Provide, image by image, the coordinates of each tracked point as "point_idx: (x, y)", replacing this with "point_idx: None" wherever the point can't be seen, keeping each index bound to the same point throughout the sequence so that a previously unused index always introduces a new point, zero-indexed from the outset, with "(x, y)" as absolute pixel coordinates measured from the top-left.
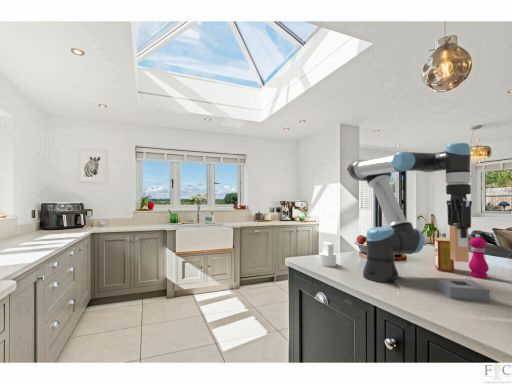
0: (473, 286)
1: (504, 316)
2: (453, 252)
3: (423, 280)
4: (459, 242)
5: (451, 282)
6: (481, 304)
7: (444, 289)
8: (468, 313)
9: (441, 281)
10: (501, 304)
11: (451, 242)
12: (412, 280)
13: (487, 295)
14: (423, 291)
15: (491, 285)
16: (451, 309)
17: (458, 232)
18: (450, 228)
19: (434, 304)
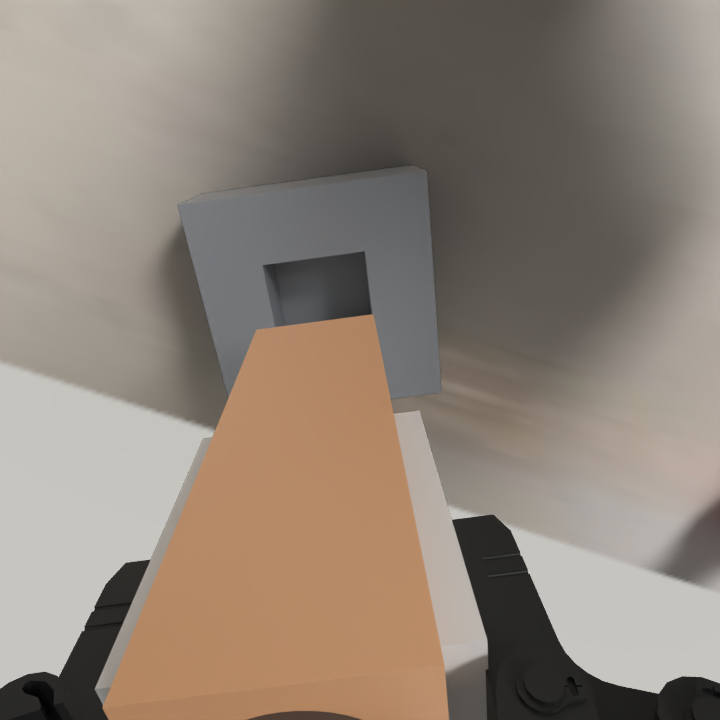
0: None
1: (86, 380)
2: (294, 358)
3: (642, 134)
4: (189, 483)
5: (315, 251)
6: None
7: (275, 187)
8: (26, 229)
9: (320, 185)
10: None
11: (338, 411)
12: (630, 36)
13: None
14: (346, 60)
15: (593, 495)
16: (39, 153)
17: (130, 611)
18: (381, 595)
19: (78, 67)
